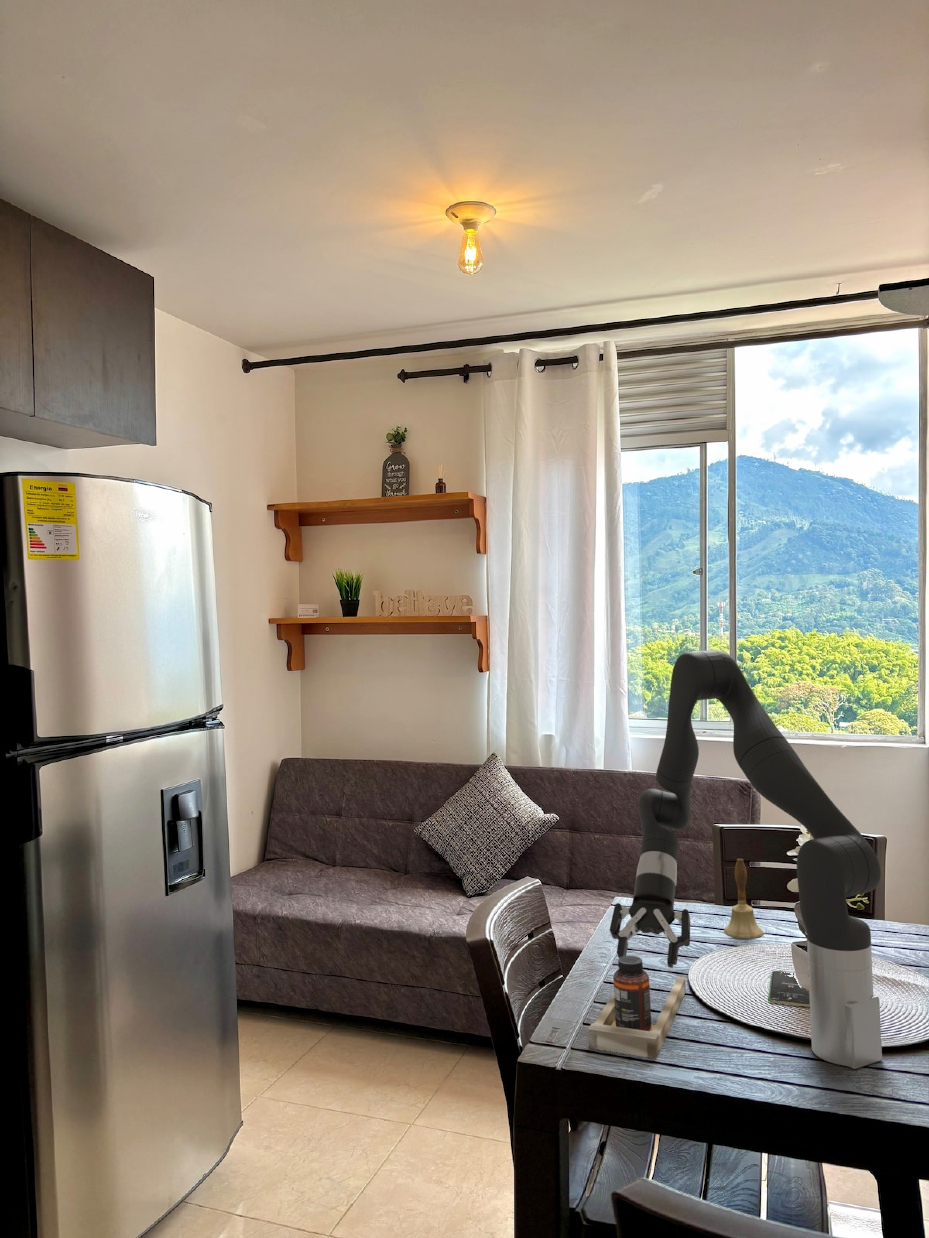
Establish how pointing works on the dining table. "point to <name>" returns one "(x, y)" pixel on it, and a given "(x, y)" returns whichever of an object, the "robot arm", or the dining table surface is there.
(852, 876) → the robot arm
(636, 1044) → the open wooden tray frame
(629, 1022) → the supplement bottle
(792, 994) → the small black book
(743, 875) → the hand bell
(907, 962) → the dining table surface
